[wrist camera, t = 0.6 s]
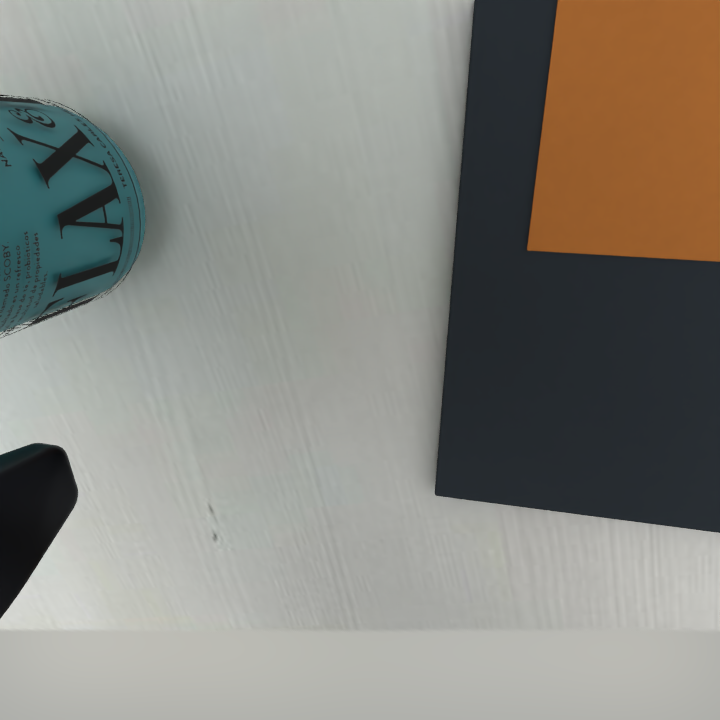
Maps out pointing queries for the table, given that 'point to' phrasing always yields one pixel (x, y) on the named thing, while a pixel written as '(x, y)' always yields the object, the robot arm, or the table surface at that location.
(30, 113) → the beverage bottle
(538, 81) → the pad
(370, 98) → the table surface
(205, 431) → the table surface
